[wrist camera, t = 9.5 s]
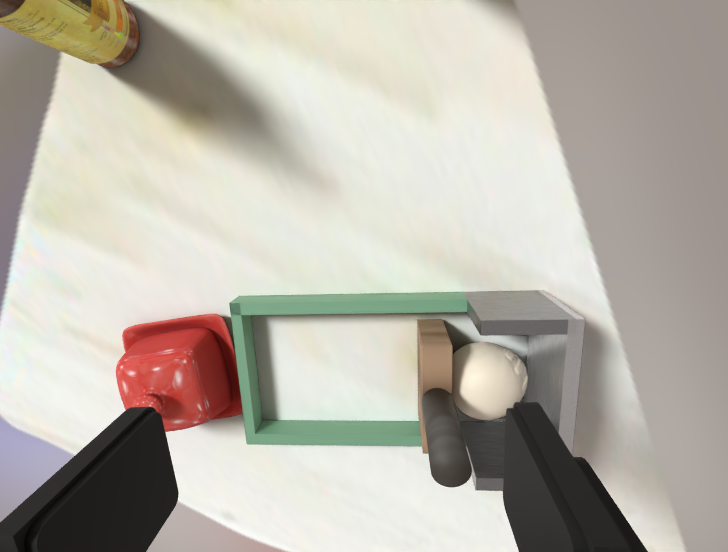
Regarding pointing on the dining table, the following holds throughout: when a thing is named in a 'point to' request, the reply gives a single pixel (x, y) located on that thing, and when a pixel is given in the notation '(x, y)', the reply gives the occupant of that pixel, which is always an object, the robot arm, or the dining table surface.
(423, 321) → the striker
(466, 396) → the cream round ball
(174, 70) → the dining table surface
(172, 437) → the dining table surface
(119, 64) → the sauce bottle
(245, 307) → the frame
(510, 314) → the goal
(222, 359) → the butter dish
